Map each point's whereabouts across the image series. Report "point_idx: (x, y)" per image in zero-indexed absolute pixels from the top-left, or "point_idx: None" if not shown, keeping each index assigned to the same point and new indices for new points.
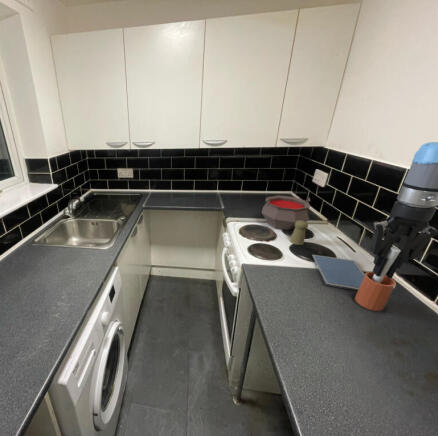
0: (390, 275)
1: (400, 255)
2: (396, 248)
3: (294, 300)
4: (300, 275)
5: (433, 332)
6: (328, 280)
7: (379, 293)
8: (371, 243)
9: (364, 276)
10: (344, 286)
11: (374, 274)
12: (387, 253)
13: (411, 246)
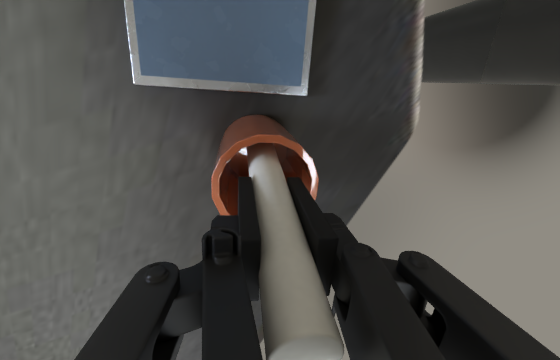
0: None
1: (346, 291)
2: (322, 351)
3: (18, 207)
4: (31, 27)
5: (352, 217)
6: (146, 59)
7: None
8: (92, 344)
9: (212, 174)
10: (201, 87)
11: (250, 174)
12: (261, 302)
13: (469, 340)
